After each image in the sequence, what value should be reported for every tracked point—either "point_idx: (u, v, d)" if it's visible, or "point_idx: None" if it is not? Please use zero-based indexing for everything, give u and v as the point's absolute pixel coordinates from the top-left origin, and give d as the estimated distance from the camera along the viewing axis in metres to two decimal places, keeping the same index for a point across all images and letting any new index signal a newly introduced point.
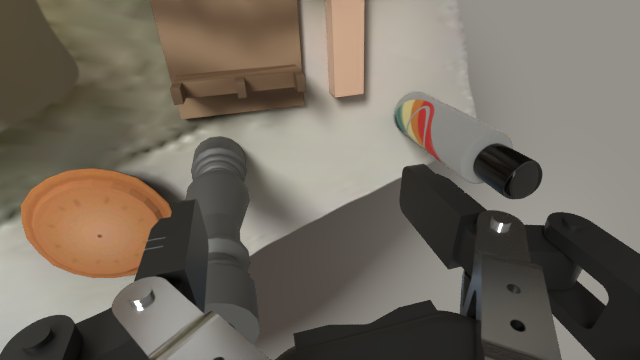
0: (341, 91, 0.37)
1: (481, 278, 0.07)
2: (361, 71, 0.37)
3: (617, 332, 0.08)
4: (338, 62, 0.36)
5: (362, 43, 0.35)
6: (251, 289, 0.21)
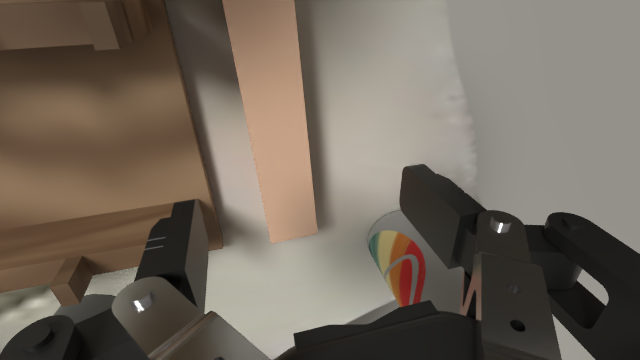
0: (280, 235, 0.23)
1: (481, 278, 0.07)
2: (311, 206, 0.23)
3: (616, 332, 0.08)
4: (270, 199, 0.22)
5: (308, 169, 0.21)
6: None
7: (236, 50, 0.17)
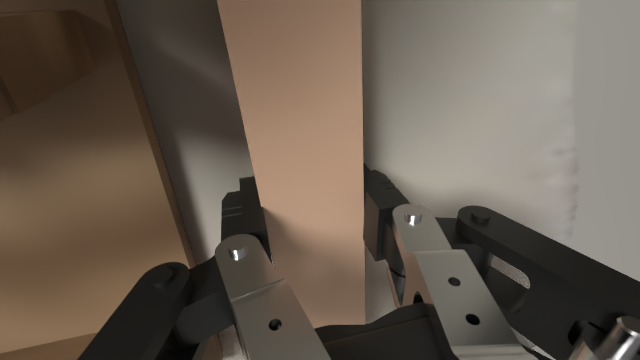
0: None
1: (424, 280, 0.07)
2: None
3: (542, 311, 0.08)
4: None
5: (361, 280, 0.13)
6: None
7: (248, 110, 0.09)
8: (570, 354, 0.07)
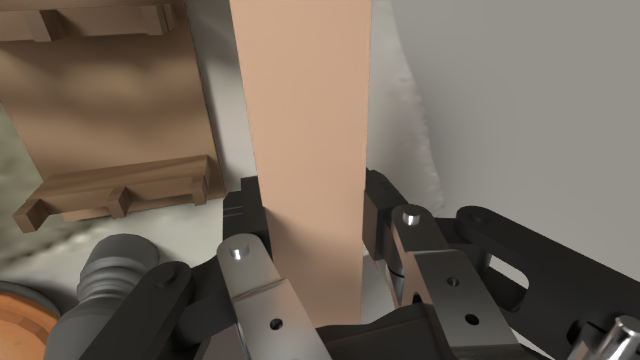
0: None
1: (423, 281, 0.07)
2: None
3: (541, 311, 0.08)
4: None
5: (358, 283, 0.13)
6: None
7: (254, 109, 0.09)
8: (569, 354, 0.07)
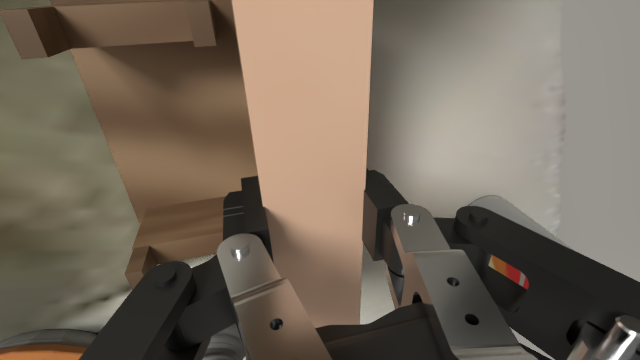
0: None
1: (423, 280, 0.07)
2: None
3: (541, 311, 0.08)
4: None
5: (357, 284, 0.13)
6: None
7: (256, 111, 0.09)
8: (569, 354, 0.07)
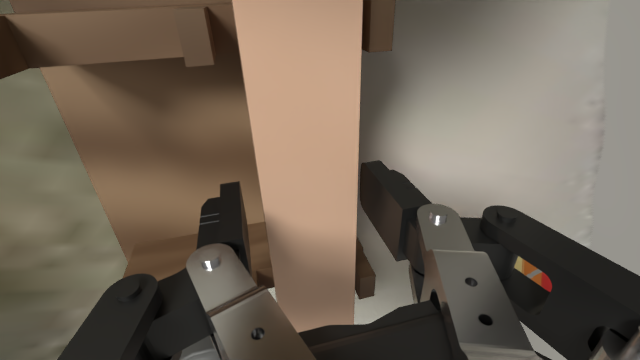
0: None
1: (440, 278, 0.07)
2: (348, 315, 0.16)
3: (563, 314, 0.08)
4: (291, 311, 0.14)
5: (351, 270, 0.14)
6: None
7: (254, 101, 0.10)
8: (588, 359, 0.07)
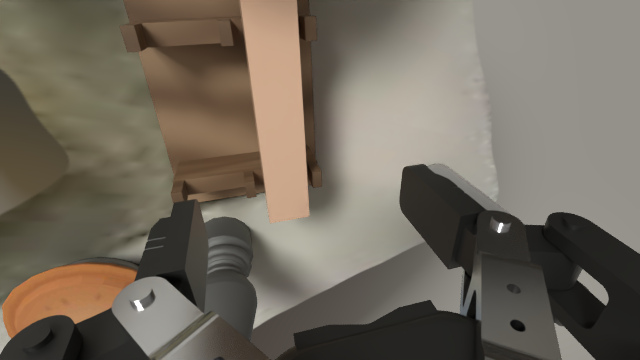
0: (278, 216, 0.28)
1: (481, 278, 0.07)
2: (304, 192, 0.27)
3: (616, 332, 0.08)
4: (271, 184, 0.26)
5: (304, 160, 0.26)
6: None
7: (251, 61, 0.22)
8: None
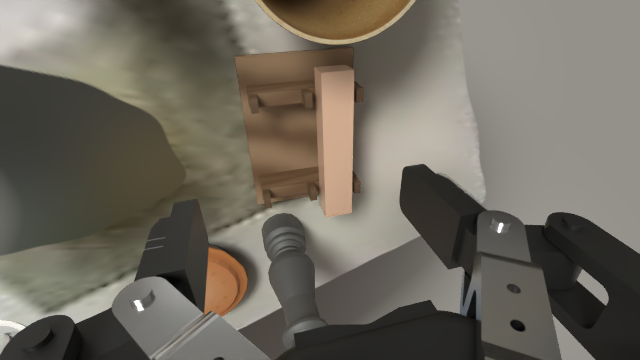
0: (331, 212, 0.41)
1: (481, 278, 0.07)
2: (350, 196, 0.41)
3: (616, 332, 0.08)
4: (329, 191, 0.40)
5: (351, 176, 0.39)
6: None
7: (324, 117, 0.35)
8: None
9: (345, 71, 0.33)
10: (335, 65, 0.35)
